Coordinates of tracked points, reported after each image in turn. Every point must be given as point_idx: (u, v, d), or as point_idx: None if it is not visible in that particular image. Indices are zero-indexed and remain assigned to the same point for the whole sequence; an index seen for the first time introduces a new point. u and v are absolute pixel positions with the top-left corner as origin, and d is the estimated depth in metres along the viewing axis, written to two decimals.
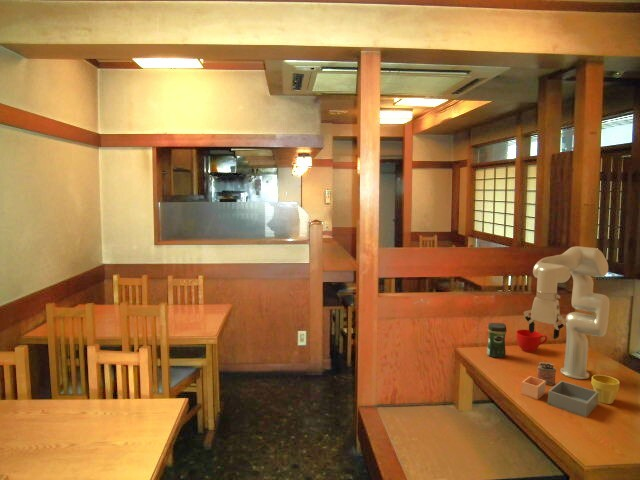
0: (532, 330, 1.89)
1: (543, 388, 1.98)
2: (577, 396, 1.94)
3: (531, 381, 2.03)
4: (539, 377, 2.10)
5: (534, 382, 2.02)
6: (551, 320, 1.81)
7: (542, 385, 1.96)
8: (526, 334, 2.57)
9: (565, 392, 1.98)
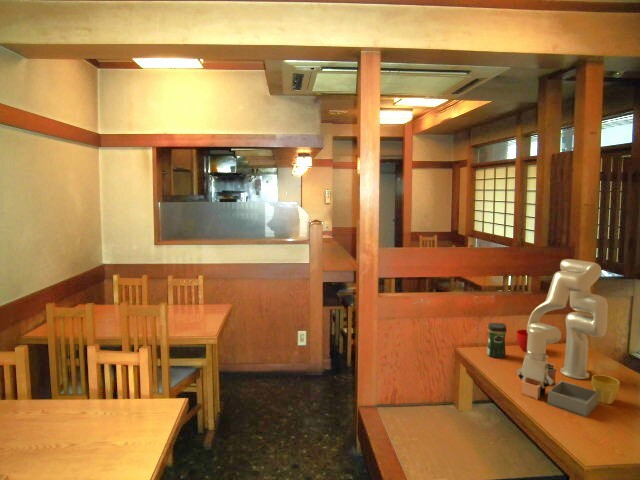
0: None
1: None
2: (577, 396, 1.94)
3: (531, 381, 2.03)
4: None
5: (534, 382, 2.02)
6: (540, 378, 1.94)
7: None
8: (526, 334, 2.57)
9: (565, 392, 1.98)
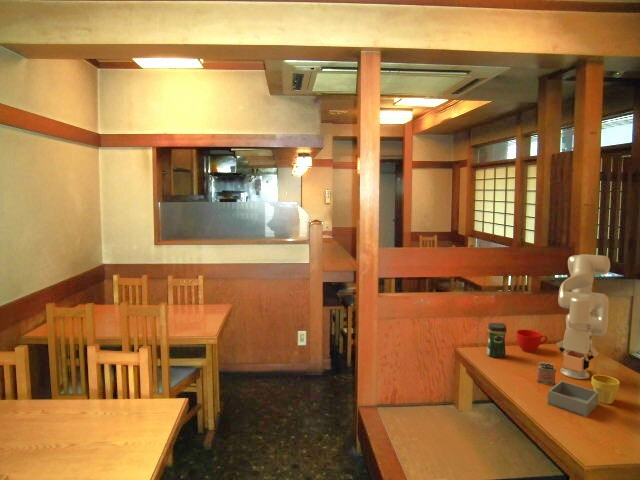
0: None
1: None
2: (577, 396, 1.94)
3: (572, 354, 1.92)
4: (539, 377, 2.10)
5: (576, 355, 1.90)
6: (584, 350, 1.82)
7: None
8: (526, 334, 2.57)
9: (565, 392, 1.98)
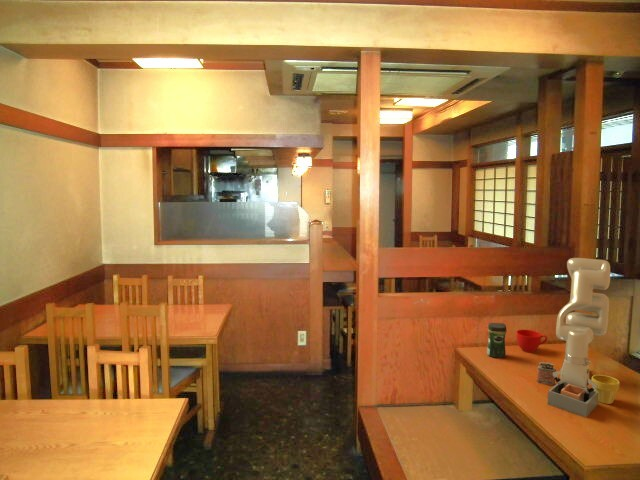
0: None
1: (583, 397, 1.88)
2: None
3: (569, 389, 1.94)
4: (539, 377, 2.10)
5: (573, 390, 1.93)
6: (581, 384, 1.84)
7: (582, 394, 1.87)
8: (526, 334, 2.57)
9: None
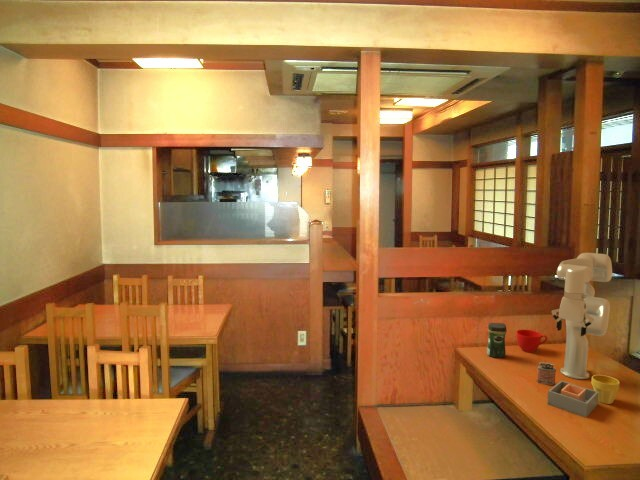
0: (560, 328, 2.00)
1: (583, 397, 1.88)
2: None
3: (569, 389, 1.94)
4: (539, 377, 2.10)
5: (573, 390, 1.93)
6: (579, 318, 1.93)
7: (582, 394, 1.87)
8: (526, 334, 2.57)
9: None
